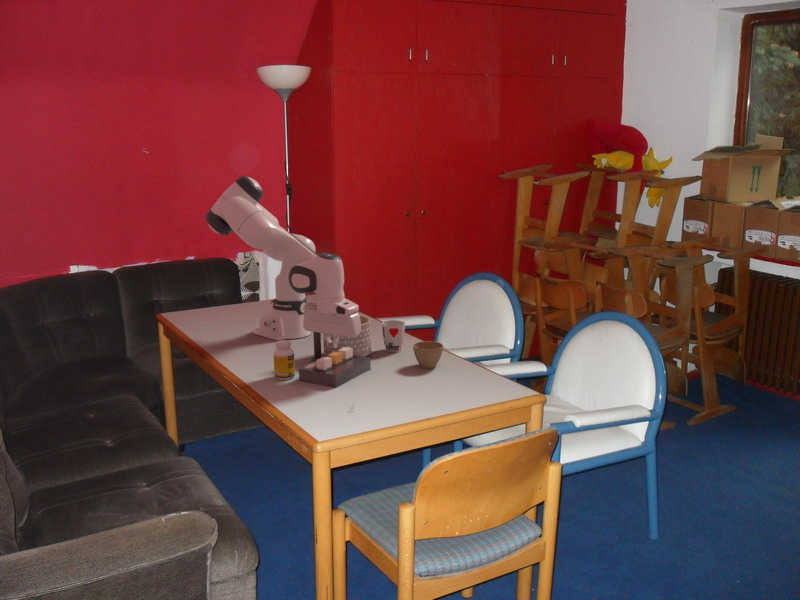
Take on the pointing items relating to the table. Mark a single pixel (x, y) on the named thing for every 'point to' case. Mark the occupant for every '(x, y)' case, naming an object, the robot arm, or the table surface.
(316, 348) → the post
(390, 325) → the cup
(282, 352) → the pill bottle
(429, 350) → the flower pot
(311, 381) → the dark grey slotted tray
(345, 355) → the pale pink brick
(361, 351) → the planter
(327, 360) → the light pink block
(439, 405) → the table surface
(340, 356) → the orange block
